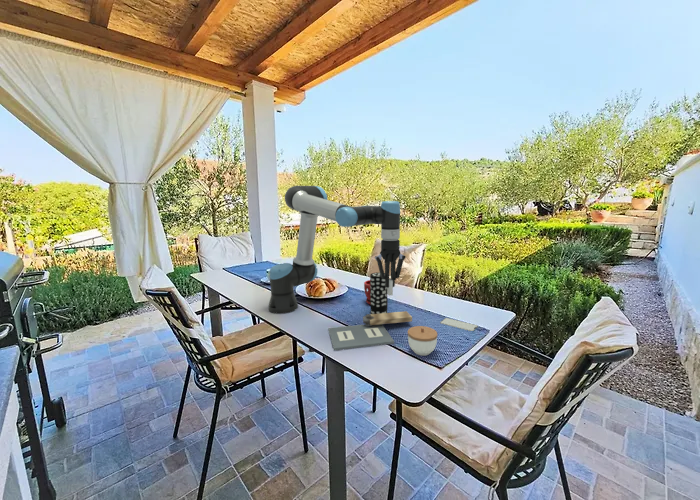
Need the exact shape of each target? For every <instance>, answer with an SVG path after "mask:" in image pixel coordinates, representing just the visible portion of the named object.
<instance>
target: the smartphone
mask: <svg viewBox="0 0 700 500" xmlns="http://www.w3.org/2000/svg"><path fill="white" fill-rule="evenodd" d="M439 323H440V324H441V325H445V326H449V327H453V328H456V327H457V329H460V330H463V329H464V331H467V330H468V332H471V331H474V330H475V329H476V328H477V329H478V328H479V325H478V324H474V323H470V322H466V321H461V320H458V319H457V320H456V319H453V318H449V317H445V318H444V319H442V320H441V321H440V322H439ZM477 329H476V330H477ZM476 330H475V331H476ZM475 331H474V332H475Z"/></svg>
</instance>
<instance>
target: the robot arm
mask: <svg viewBox="0 0 700 500" xmlns="http://www.w3.org/2000/svg"><path fill="white" fill-rule="evenodd" d="M284 202H285V204H286V206H287V207H288V208H289V209H291V210H293V211H297V212H299V214H300V221H299V228H298V229H299V231H298V237H297V247H296V255H295V257H293V259H292V263H290V262H283V263H278V264H275V265H273V266H272V267H271V268H270V269H269V283H270V284H269V286H270V298H269V303H268V311H269V312H270V313H272V314H287V313H288V314H289V313H292V312H295V310H298V309H299V307H298V306H299V303H298V300H297V297H296V295H295V291H294V290H295V289H294V287H297V286H300V285H304V284H309V283H310V282H313V281H314V280H315V279H316V278H317V275H318V267H317V264H316V263H315V260H314V258H313V255H314V254H313V253H314V246H315V239H316V231H317V225H318V224H317V222H318V218H319V217H322V218H325V219H328V220H330V221H334V222H336V223H337V224H338V226H340V227H342V228H343V227H345V228H352V227H356V226H363V225H381V226H380V232H381V233H380V238H381V241H380V242H381V243H380V247H381V248H380V251H379V254H378V255H377V256H374V259H375V261H376V263H377V267H378V272H379V273H380V276H381V278H382V279H385V286H386V287H387V296H389V297H390V296H393V291H394V289H393V288H395V286H396V285H395V284H396V281H397V279H399V278H400V276H401V273H402V268H403V265H404V264H403V263H404V261H405V260H406V255H405V254H402V253H401V250H400V244H401V243H400V236H401V235H400V234H401V232H400V231H401V229H400V227H401V225H400V224H401V223H400V222H401V221H400V219H401V204H400V201H397V200H392V201H391V200H388V201H386V200H385V201H381V204H380V205H379V206H378V205H361V206H350V205H347V204H343V203H341V202H337V201H334V200H333V201H332V200H330V199H329V200H328V194H327V192H326V190H325V189H324V188H323V187H321V186H318V185H294V186H291V187H289V188H288V189H287V190H286V192H285V194H284ZM382 259H383V261H384V267H383V262H382ZM397 259H398V261H397ZM384 273H385V274H384Z"/></svg>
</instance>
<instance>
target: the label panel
mask: <svg viewBox="0 0 700 500" xmlns="http://www.w3.org/2000/svg"><path fill="white" fill-rule="evenodd" d="M328 334H329V338H330V341H331V344H332V348H333V351H334V350H336V351H343V349H344V350H351V349H361V348H370V347H377V346H385V345H392V344H395V340H394V339H393V338H392V336H391V334H390V333H389V332H388V331H387V329H386V328H385V326H384V324H377V325H370V324H365V323H364V324H356V325H348V326H347V325H346V326H338V327H328Z"/></svg>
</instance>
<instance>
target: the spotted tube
mask: <svg viewBox="0 0 700 500" xmlns="http://www.w3.org/2000/svg"><path fill="white" fill-rule="evenodd" d="M384 274H385V272H384ZM369 276H370V278H369V280H370V303H371V305H370V314H380V313H388V294H387V287H386V286H385V279H382V278H381V276H380V272H373V273H370V275H369Z"/></svg>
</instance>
